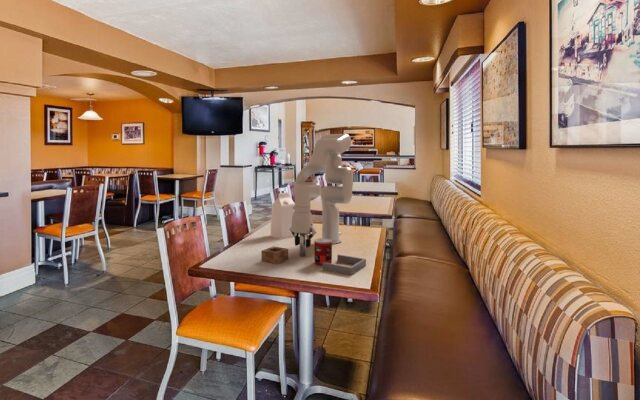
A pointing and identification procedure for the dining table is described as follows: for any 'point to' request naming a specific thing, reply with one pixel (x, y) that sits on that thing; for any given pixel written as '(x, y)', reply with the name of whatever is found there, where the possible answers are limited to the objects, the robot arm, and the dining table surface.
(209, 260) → the dining table surface
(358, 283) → the dining table surface
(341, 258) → the tray
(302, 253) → the pin
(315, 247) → the canned food
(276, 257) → the block
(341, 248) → the dining table surface
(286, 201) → the milk
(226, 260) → the dining table surface
